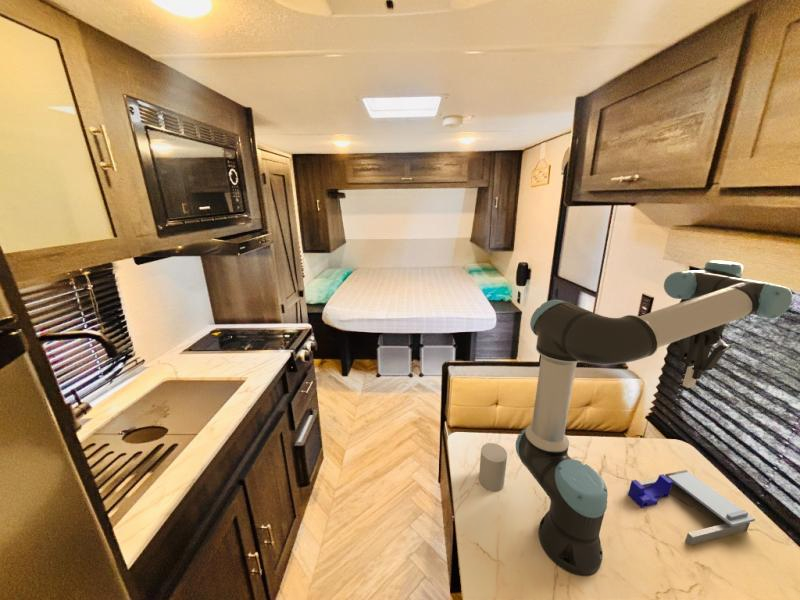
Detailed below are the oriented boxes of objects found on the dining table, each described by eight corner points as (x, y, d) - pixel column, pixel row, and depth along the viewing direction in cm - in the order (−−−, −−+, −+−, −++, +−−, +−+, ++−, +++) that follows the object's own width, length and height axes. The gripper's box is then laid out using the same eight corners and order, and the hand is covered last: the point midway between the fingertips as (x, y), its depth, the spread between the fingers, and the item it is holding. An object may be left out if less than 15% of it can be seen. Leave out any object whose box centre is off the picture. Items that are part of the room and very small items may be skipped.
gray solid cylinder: (494, 468, 108) (497, 440, 105) (509, 487, 101) (512, 458, 97) (474, 474, 106) (476, 446, 102) (487, 494, 98) (490, 464, 95)
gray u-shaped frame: (689, 545, 83) (692, 537, 82) (631, 490, 99) (633, 482, 99) (746, 530, 87) (750, 522, 86) (681, 479, 103) (684, 472, 102)
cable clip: (640, 508, 94) (645, 493, 92) (627, 495, 98) (631, 480, 96) (673, 501, 96) (677, 486, 94) (658, 488, 100) (663, 474, 98)
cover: (731, 527, 84) (733, 521, 83) (664, 476, 101) (665, 471, 100) (754, 521, 85) (756, 515, 84) (684, 472, 102) (685, 467, 102)
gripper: (747, 321, 83) (722, 396, 90) (695, 307, 96) (676, 374, 102) (726, 323, 82) (702, 399, 89) (675, 308, 94) (657, 376, 101)
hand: (688, 385), depth 96 cm, fingers closed
